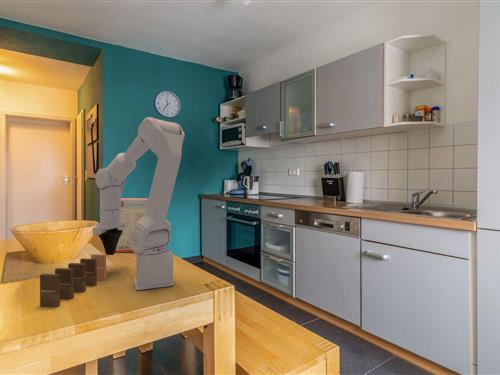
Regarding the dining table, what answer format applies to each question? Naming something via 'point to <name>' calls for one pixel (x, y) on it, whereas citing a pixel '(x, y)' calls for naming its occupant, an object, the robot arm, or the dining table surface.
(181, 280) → the dining table surface
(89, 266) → the domino
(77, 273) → the domino
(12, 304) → the dining table surface
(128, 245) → the cracker box
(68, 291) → the domino
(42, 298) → the domino
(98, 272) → the domino
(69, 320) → the dining table surface
